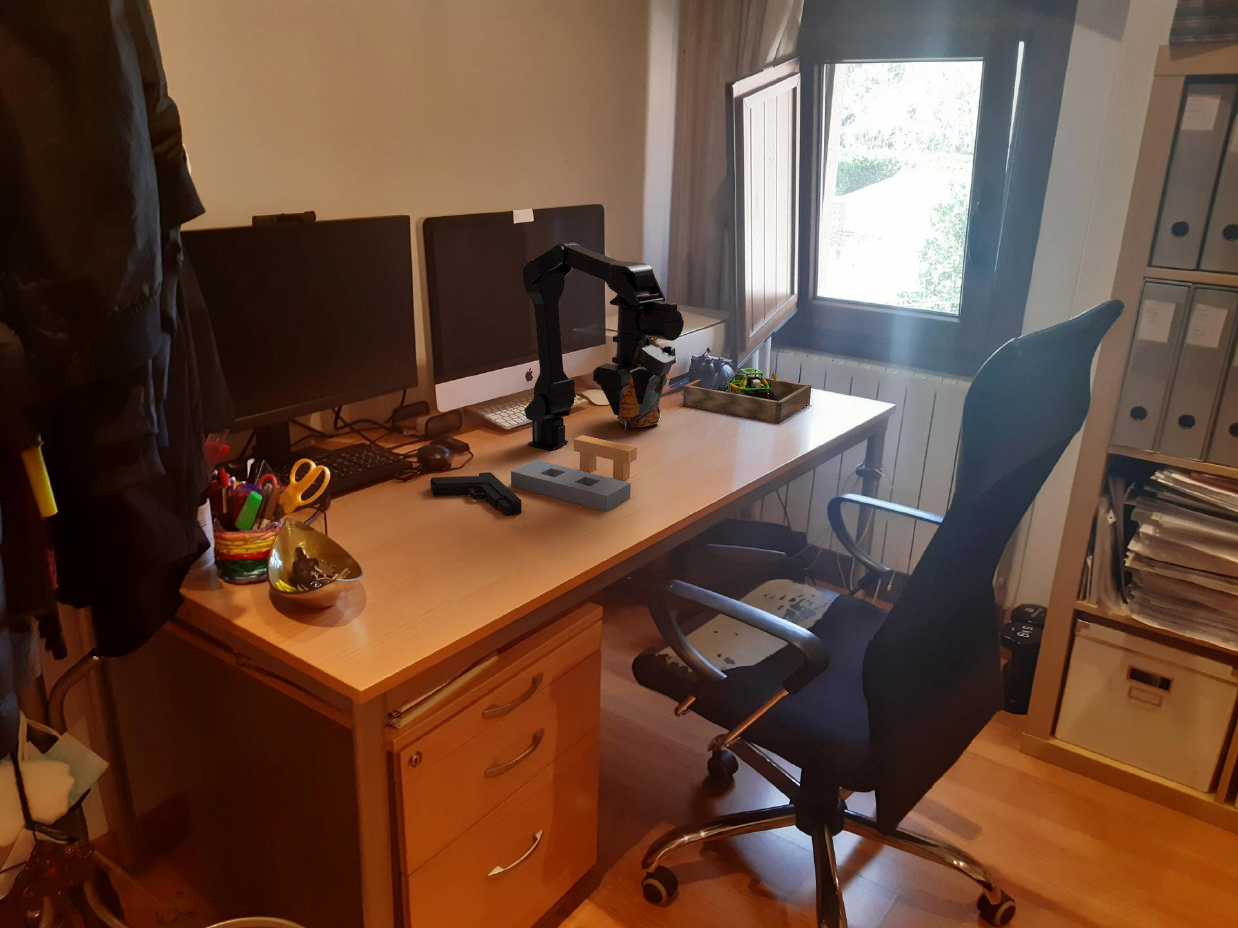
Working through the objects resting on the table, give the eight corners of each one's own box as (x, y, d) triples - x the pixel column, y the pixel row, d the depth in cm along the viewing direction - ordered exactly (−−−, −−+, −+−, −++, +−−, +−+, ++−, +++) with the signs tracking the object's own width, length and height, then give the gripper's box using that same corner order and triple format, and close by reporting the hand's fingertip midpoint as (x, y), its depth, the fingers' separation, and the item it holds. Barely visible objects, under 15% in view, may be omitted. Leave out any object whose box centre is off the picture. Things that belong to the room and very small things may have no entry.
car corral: (683, 404, 231) (683, 385, 229) (718, 388, 247) (719, 370, 245) (778, 423, 218) (780, 402, 216) (809, 404, 234) (811, 385, 232)
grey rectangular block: (511, 485, 176) (510, 471, 175) (536, 473, 182) (536, 459, 181) (606, 511, 165) (607, 496, 164) (630, 497, 171) (630, 482, 170)
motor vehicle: (755, 393, 241) (758, 354, 238) (784, 414, 224) (788, 372, 220) (714, 395, 239) (716, 356, 235) (739, 417, 221) (742, 374, 217)
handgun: (457, 512, 157) (523, 501, 162) (425, 476, 172) (485, 467, 178) (458, 528, 158) (523, 516, 163) (426, 491, 173) (485, 481, 179)
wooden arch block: (573, 469, 185) (573, 438, 183) (582, 465, 187) (582, 435, 185) (628, 482, 178) (628, 451, 176) (636, 478, 181) (636, 447, 179)
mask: (596, 432, 208) (597, 323, 200) (631, 408, 227) (633, 308, 218) (647, 439, 204) (650, 329, 195) (678, 415, 222) (682, 313, 214)
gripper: (645, 346, 163) (641, 429, 168) (691, 329, 178) (686, 405, 183) (592, 337, 168) (590, 418, 173) (642, 321, 183) (638, 395, 189)
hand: (628, 409), depth 180 cm, fingers open, 9 cm apart
